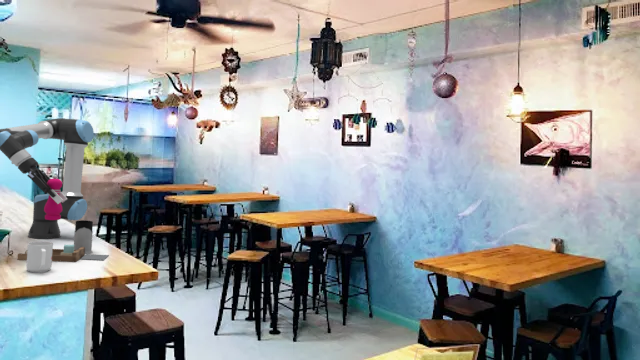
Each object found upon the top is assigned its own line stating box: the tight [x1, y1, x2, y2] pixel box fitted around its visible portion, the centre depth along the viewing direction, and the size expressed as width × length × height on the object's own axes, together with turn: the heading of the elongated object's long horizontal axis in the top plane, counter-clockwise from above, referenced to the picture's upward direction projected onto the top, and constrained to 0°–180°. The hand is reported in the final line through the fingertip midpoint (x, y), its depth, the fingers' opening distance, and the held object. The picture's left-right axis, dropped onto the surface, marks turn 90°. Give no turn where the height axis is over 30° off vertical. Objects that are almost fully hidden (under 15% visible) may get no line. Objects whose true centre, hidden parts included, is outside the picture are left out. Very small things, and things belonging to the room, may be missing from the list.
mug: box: [25, 240, 54, 273], centre depth 194 cm, size 12×9×11 cm
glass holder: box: [73, 219, 94, 255], centre depth 234 cm, size 9×14×15 cm, turn 27°
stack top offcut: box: [63, 244, 74, 253], centre depth 219 cm, size 4×4×3 cm
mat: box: [79, 253, 110, 261], centre depth 223 cm, size 10×10×1 cm
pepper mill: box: [44, 174, 63, 221], centre depth 216 cm, size 7×7×20 cm
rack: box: [16, 247, 86, 263], centre depth 217 cm, size 14×24×4 cm, turn 101°
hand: (62, 201), depth 216 cm, fingers closed on pepper mill, 5 cm apart
